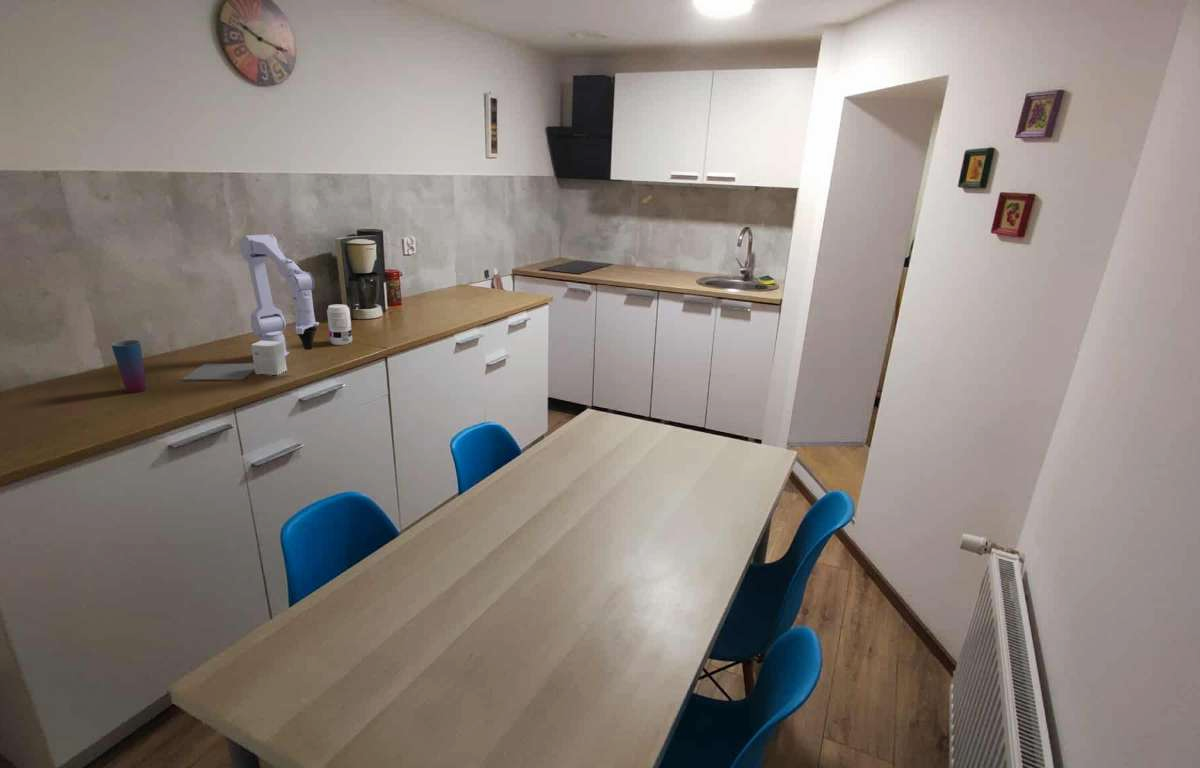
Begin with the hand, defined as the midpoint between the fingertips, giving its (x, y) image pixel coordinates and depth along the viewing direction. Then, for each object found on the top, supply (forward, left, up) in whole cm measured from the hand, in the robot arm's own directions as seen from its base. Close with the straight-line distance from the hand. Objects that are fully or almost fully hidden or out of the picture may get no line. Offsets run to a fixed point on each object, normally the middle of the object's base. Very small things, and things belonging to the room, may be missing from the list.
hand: (308, 349), depth 200 cm
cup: (+16, -46, -9) cm, 49 cm away
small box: (0, -13, -9) cm, 15 cm away
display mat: (0, -28, -8) cm, 29 cm away
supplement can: (-37, +1, -9) cm, 38 cm away
